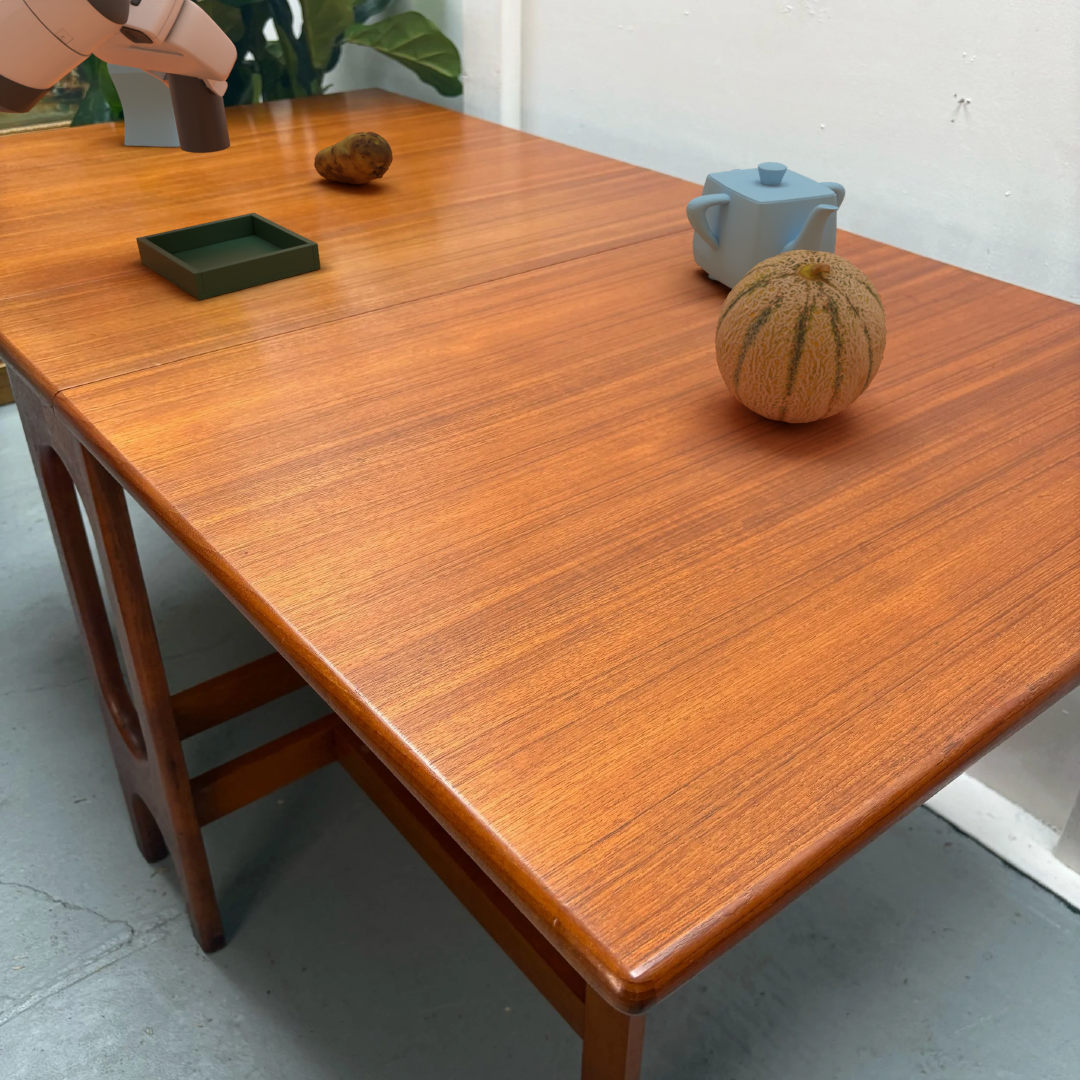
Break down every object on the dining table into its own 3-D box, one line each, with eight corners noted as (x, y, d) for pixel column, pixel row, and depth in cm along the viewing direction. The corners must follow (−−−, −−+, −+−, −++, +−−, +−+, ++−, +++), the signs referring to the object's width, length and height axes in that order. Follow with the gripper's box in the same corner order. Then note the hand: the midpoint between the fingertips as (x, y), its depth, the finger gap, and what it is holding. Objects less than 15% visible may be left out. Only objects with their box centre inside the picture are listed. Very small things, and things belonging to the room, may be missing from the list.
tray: (199, 300, 114) (194, 273, 112) (141, 263, 123) (135, 237, 122) (320, 268, 122) (317, 243, 120) (257, 236, 132) (254, 212, 130)
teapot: (662, 291, 117) (672, 171, 109) (716, 249, 129) (728, 138, 121) (817, 324, 110) (839, 197, 102) (859, 276, 121) (882, 160, 114)
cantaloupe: (808, 366, 101) (834, 214, 92) (904, 433, 90) (944, 268, 81) (676, 391, 96) (690, 234, 87) (761, 465, 85) (787, 293, 76)
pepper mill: (193, 155, 115) (171, 30, 108) (172, 146, 119) (149, 24, 111) (239, 147, 118) (220, 25, 111) (216, 138, 122) (197, 19, 114)
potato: (358, 171, 157) (353, 116, 152) (403, 191, 149) (399, 133, 144) (310, 180, 153) (303, 124, 148) (354, 201, 144) (348, 142, 140)
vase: (182, 147, 168) (150, -25, 154) (124, 145, 169) (87, -26, 154) (203, 132, 176) (174, -32, 162) (147, 131, 177) (114, -34, 162)
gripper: (29, 17, 107) (126, 100, 119) (162, 35, 98) (252, 123, 110) (55, -35, 107) (148, 53, 120) (189, -22, 99) (276, 72, 111)
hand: (199, 87), depth 115 cm, fingers closed on pepper mill, 5 cm apart
